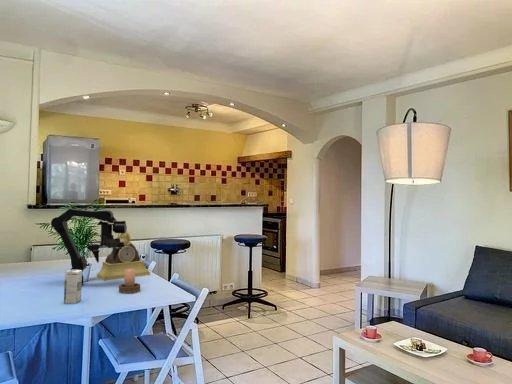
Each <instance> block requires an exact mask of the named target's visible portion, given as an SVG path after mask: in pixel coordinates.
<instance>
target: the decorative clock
mask: <svg viewBox="0 0 512 384" xmlns="http://www.w3.org/2000/svg"><path fill="white" fill-rule="evenodd" d="M116 238H119V239H120V242H123V243H124V247H122V249H120V250H119V251H118V253H117V256H116V259H115V261H113V250H111V252H110V253H109V254H108V255H107V256H106V258H105V260H104V261H102V265H101V268H100V270H99V271H98V273H96V277H97V278H98V279H100V280H102V281H104V282H105V281H113V280H120V279H125V269H126V268H135V278H136V277H137V278H138V276H139V277H145V276H146V275H147V276H150V275H151V272H150V271H149V269H147V268H146V266H145V261H144V260H142V259H141V258H140V257H141V256H140V254H139V251H138V249H137V248H136V246H135V245H134V244H133V243H132V242H131V240H132V238H131V235H130V232H128V231H126V233H117V237H116Z"/></svg>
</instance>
